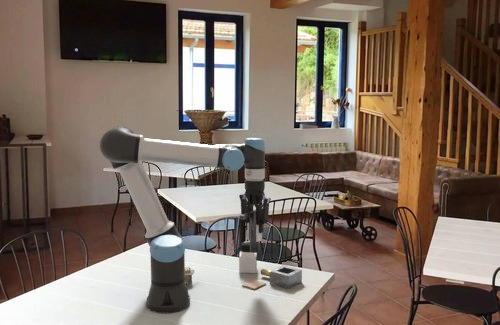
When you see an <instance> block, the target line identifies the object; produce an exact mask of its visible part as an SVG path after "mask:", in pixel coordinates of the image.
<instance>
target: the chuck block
mask: <svg viewBox="0 0 500 325" xmlns="http://www.w3.org/2000/svg"><path fill="white" fill-rule="evenodd" d="M260 275H261V276H266V277H269V284H270V285H274V286H278V287H281V288H284V289H288V290H290V289H291V288H293V287H296V286H297V285H300V284H301V283H302V281H303V270H302V269H300V268H295V267H292V266H288V265H285V264H283V265H282V264H281V266H278V267H276V268H274V269H272V270H269V269H266V268H262V269H261V270H260Z"/></svg>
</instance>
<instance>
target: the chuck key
mask: <svg viewBox="0 0 500 325" xmlns="http://www.w3.org/2000/svg"><path fill="white" fill-rule="evenodd" d="M248 218H250V240H249V242H250V252H251V253H260V241H259V242H256V225H257V224H258V221H257V213H256V208H255V209H254V208H253V210H250V212H249V213H245V214H242V215H241V214H239V220H242V221H244V220H245V219H248Z"/></svg>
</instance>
